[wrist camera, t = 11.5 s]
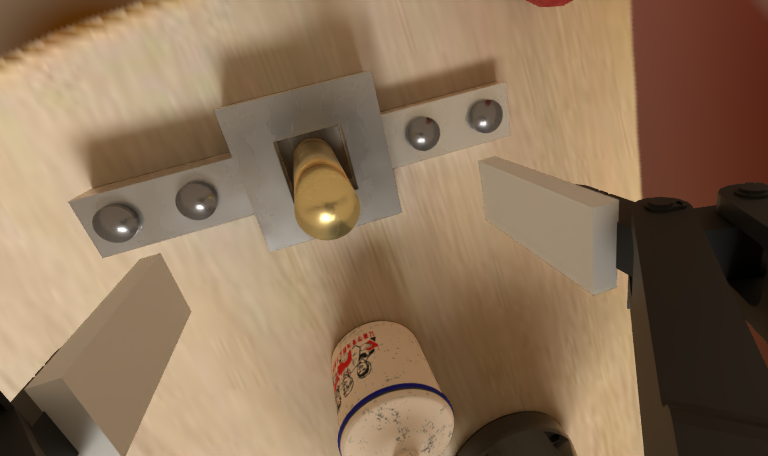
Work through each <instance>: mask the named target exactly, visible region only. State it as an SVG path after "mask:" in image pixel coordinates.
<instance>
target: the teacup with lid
mask: <svg viewBox="0 0 768 456" xmlns="http://www.w3.org/2000/svg"><path fill="white" fill-rule="evenodd" d="M331 370H332V377H333V385H334V392H335V400H336V407H337V415H338V422H339V434H338V447H339V451H340V454H341V456H440V455H441V454H442V452H443V451H444V450H445V448H446V447H447V445H448V443H449V442H450V439H451V437H452V434H453V429H454V413H453V409H452V406H451V404H450V402H449V400H448V399H447V397H446V396H445V395H444V394H443V393H442V392H441V390H440V388H439V385H438V383H437V381H436V379H435V377H434V375H433V373H432V371H431V369H430V366H429V364H428V362H427V360H426V358H425V356H424V354H423V352H422V350H421V347H420V345H419V343H418V341H417V339H416V337H415V336H414V335H413V333H412V332H411V331H410V330H409V329H407V328H406V327H404V326H402V325H400V324H398V323H394V322H389V321H376V322H371V323H367V324H364V325H361V326H359V327H357V328H355V329H354V330H352V331H350V332H349V333H348V334H347V335H346V336H344V337H343V338H342V340H341V341H340V342H339V343H338V345H337V346H336V348H335V350H334V353H333V356H332V361H331Z"/></svg>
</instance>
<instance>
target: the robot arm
mask: <svg viewBox="0 0 768 456" xmlns="http://www.w3.org/2000/svg"><path fill="white" fill-rule="evenodd" d="M479 169H480V177H481V185H482V193H483V200H484V208H485V216H486V220H487V221H488V222H490V223H491V224H492V225H494V226H495V227H497V228H498V229H500V230H501V231H502V232H504V233H505V234H507V235H508V236H510V237H511V238H512V239H514V240H515V241H517V242H518V243H520V244H521V245H522V246H524V247H525V248H527V249H528V250H529V251H531V252H532V253H534V254H535V255H537V256H538V257H539V258H541V259H542V260H544V261H545V262H547V263H548V264H549V265H551V266H552V267H554V268H555V269H557V270H558V271H559V272H561V273H562V274H564V275H565V276H566V277H568V278H569V279H571V280H572V281H574V282H575V283H576V284H578V285H579V286H581V287H582V288H584V289H585V290H586V291H588V292H589V293H591V294H592V295H596V294H599V293H602V292H605V291H607V290H610V289H613V288H616V287H617V269H619V270H621V271H623V272H624V273H626V274H628V275H629V276H628V300H627V309H630V312H631V322H632V332H633V343H634V353H635V363H636V373H637V384H638V394H639V404H640V415H641V425H642V435H643V445H644V456H768V368H767V366H766V364H765V362H764V360H763V358H762V355H761V353H760V351H759V349H758V347H757V345H756V343H755V340H754V338H753V336H752V334H751V332H750V330H749V327H748V325H747V323H746V321H747V322H748V323H749V324H750V325H751V326H752V327H753V328H754V330H755V331H756V332H757V333H758V334H759V335H760V336H761V337H762V338H763V339H764V340H765V341H766V342H767V343H768V185H765V184H764V183H754V182H750V183H749V182H748V183H745V184H735V185H730V186H726V187H723V188H721V189H720V190H719V192H718V196H717V202H716V205H714V206H708V207H700V208H693V206H692V205H691V204H689V203H688V202H686V201H683V200H680V199H675V198H668V197H654V198H646V199H642V200H638V201H637V202H633V201H630V200H627V199H624V198H621V197H618V196H616V195H613V194H608V193H607V192H604V191H601V190H600V191H599V190H598V189H595V188H592V187H589V186H586V185H578V184H573V183H570V182H567V181H564V180H561V179H558V178H556V177H553V176H550V175H547V174H544V173H541V172H539V171H536V170H533V169H530V168H527V167H524V166H522V165H519V164H516V163H513V162H510V161H507V160H505V159H502V158H499V157H496V156H494V157H490V158H487V159H484V160H480V161H479ZM190 313H191V310H190V308H189V306H188V304H187V302H186V301H185V299H184V297H183V295H182V293H181V291H180V289H179V287H178V285H177V284H176V282H175V280H174V278H173V276H172V274H171V272H170V270H169V268H168V266H167V265H166V263H165V261H164V259H163V257H162V255H161V253H159V254H156V255H153V256H149V257H146V258H142V259H140V260H139V261H138V262H137V263H136V264H135V265H134V266H133V267H132V269H131V270H130V271H129V272H128V273H127V274H126V275H125V276H124V278H123V279H122V280H121V281H120V282H119V283H118V284H117V285H116V287H115V288H114V289H113V290H112V291H111V292H110V293H109V294H108V296H107V297H106V298H105V299H104V300H103V301H102V302H101V303H100V305H99V306H98V307H97V308H96V309H95V310H94V311H93V312H92V314H91V315H90V316H89V317H88V318H87V319H86V320H85V321H84V323H83V324H82V325H81V326H80V327H79V328H78V329H77V330H76V332H75V333H74V334H73V335H72V336H71V337H70V338H69V339H68V341H67V342H66V343H65V344H64V345H63V346H62V347H61V348H60V349H58V350H57V351H56V352H55V353H54V354H53V355H52V356H51V358H50V359H49V360H48V361H47V362H46V363H45V366H43V367H42V368H41V369H40V370H39V371H38V372H37V373H36V374H35V377H33V378H32V379H31V380H30V381H29V382H28V383H27V384H26V386H25V387H24V388H23V389H22V390H21V391H20V392H19V393H18V394H17V396H16V397H15V398H14V399H13V400H12V401H11V402H10V401H9V400H8V399H7V398H6V397H5V396H4V395H3V393H2V392H1V391H0V456H78V455H79V456H126V454H127V452H128V449H129V447H130V445H131V443H132V441H133V438H134V436H135V434H136V432H137V430H138V427H139V425H140V423H141V421H142V419H143V416H144V414H145V412H146V410H147V408H148V405H149V403H150V401H151V399H152V397H153V394H154V392H155V390H156V388H157V386H158V384H159V381H160V379H161V377H162V375H163V373H164V370H165V368H166V366H167V364H168V362H169V359H170V357H171V355H172V353H173V351H174V348H175V346H176V344H177V342H178V340H179V337H180V335H181V333H182V331H183V329H184V326H185V324H186V322H187V320H188V318H189V316H190ZM745 320H746V321H745ZM457 456H577V454H576V451H575V449H574V446H573V444H572V442H571V440H570V438H569V437H568V435H567V434H566V433H565V431H564V430H563V429H562V427H561V426H560V425H559V424H558V422H557V421H556V420H555V419H553V418H552V417H550V416H548V415H546V414H542V413H537V412H523V413H517V414H512V415H509V416H506V417H503V418H501V419H498V420H496V421H494V422H492V423H490V424H489V425H487V426H485V427H484V428H482V429H481V430H480V431H478V432H477V433H476V434H475V435H473V436H472V437H471V438H470V439H469V440H468V441H467V442H466V443H465V445H464V446H463V447H462V448H461V450H460V451H459V453H458V455H457Z"/></svg>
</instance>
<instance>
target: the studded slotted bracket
mask: <svg viewBox="0 0 768 456" xmlns="http://www.w3.org/2000/svg"><path fill="white" fill-rule="evenodd" d="M214 113H215V115H216V118H217V120H218V123H219V125H220V128H221V130H222V133H223V135H224V138H225V140H226V143H227V145H228V148H229V151H230V152H228V153H225V154H221V155H217V156H213V157H210V158H206V159H202V160H198V161H194V162H191V163H187V164H183V165H179V166H176V167H172V168H168V169H164V170H160V171H157V172H153V173H149V174H145V175H141V176H138V177H134V178H130V179H126V180H123V181H119V182H115V183H111V184H107V185H104V186H100V187H96V188H92V189H90V190H89V191H87V192H85V193H83V194H81V195H79V196H78V197H76V198H74V199H72V200H70V201H69V202H68V203H69V204H70V206H71V207H72V209H73V211H74V212H75V214H76V216H77V217H78V219H79V220H80V222H81V224H82V225H83V227H84V229H85V230H86V232H87V233H88V235H89V237H90V238H91V240H92V242H93V243H94V245H95V246H96V248H97V250H98V251H99V253H100V255H101V256H102V258H105V257H108V256H112V255H115V254H119V253H122V252H126V251H129V250H133V249H136V248H140V247H143V246H147V245H150V244H154V243H157V242H161V241H164V240H168V239H171V238H175V237H178V236H182V235H185V234H189V233H192V232H196V231H199V230H202V229H206V228H209V227H213V226H216V225H220V224H223V223H227V222H230V221H234V220H237V219H241V218H244V217H248V216H251V215H255V216H256V218H257V221H258V223H259V226H260V228H261V231H262V233H263V236H264V238H265V241H266V243H267V246H268V248H269V251H270V252H273V251H276V250H279V249H283V248H286V247H289V246H293V245H296V244H299V243H303V242H306V241H309V240H313V239H316V238H313V237H311V236H309V235H308V234H306V233H305V232H304V231H303V230H302V229H301V228H300V226H299V225H298V223H297V221H296V218H295V213H294V191H293V188H292V185H291V182H290V179H289V176H288V174H287V171H286V168H285V165H284V162H283V159H282V156H281V153H280V150H279V147H278V144H277V141H280V140H283V139H287V138H291V137H295V136H298V135H302V134H306V133H310V132H313V131H317V130H321V129H325V128H329V127H332V126H336V125H338V127H339V130H340V134H341V138H342V141H343V145H344V149H345V153H346V156H347V160H348V164H349V167H350V171H351V175H352V179H350V180H349V181H350V183H351V185H352V187H353V189H354V190H355V192H356V194H357V196H358V199H359V202H360V215H359V218H358V221H357V223H356V225H355V226H354V227H356V226H359V225H363V224H366V223H369V222H373V221H376V220H379V219H383V218H386V217H389V216H393V215H396V214H399V213H402V209H401V205H400V200H399V196H398V191H397V186H396V182H395V177H394V173H393V169H394V168H398V167H401V166H405V165H408V164H412V163H415V162H419V161H422V160H426V159H429V158H433V157H436V156H440V155H444V154H447V153H451V152H454V151H458V150H461V149H465V148H468V147H472V146H475V145H479V144H482V143H486V142H489V141H493V140H496V139H500V138H503V137H507V136H510V122H509V110H508V98H507V85H506V82H493V83H489V84H485V85H482V86H478V87H474V88H470V89H467V90H463V91H459V92H455V93H451V94H448V95H444V96H440V97H436V98H433V99H429V100H425V101H421V102H417V103H414V104H410V105H406V106H402V107H399V108H395V109H391V110H387V111H383V112H380V109H379V104H378V100H377V95H376V91H375V86H374V82H373V77H372V72H371V71H364V72H359V73H355V74H351V75H347V76H343V77H339V78H335V79H331V80H327V81H323V82H319V83H315V84H311V85H307V86H303V87H299V88H295V89H291V90H287V91H283V92H279V93H275V94H271V95H267V96H263V97H259V98H255V99H251V100H247V101H243V102H239V103H235V104H231V105H227V106H223V107H220V108H218V109H215V110H214Z"/></svg>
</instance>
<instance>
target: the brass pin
mask: <svg viewBox="0 0 768 456" xmlns="http://www.w3.org/2000/svg"><path fill="white" fill-rule="evenodd" d="M294 213H295V218H296V221H297V223H298V225H299V226H300V228H301V229H302V230H303V231H304V232H305V233H306V234H308V235H309V236H311V237H313V238H316V239H320V240H333V239H337V238H340V237H342V236H344V235H346V234H347V233H348V232H350V231H351V230H352V229H353V228H354V226H355V225H356V223H357V221H358V218H359V215H360V202H359V199H358V196H357V194H356V192H355V190H354V189H353V187H352V185H351V183H350V181H349V179H348V178H347V176H346V174H345V172H344V170H343V168H342V167H341V165H340V163H339V161H338V159H337V157H336V156H335V154H334V152H333V150H332V148H331V147H330V145H329V144H328V143H326V142H325V141H323V140H321V139H318V138H309V139H306V140H304V141H302V142H301V143H300V144H299V145H298V146H297V147H296V149H295V152H294Z"/></svg>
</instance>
